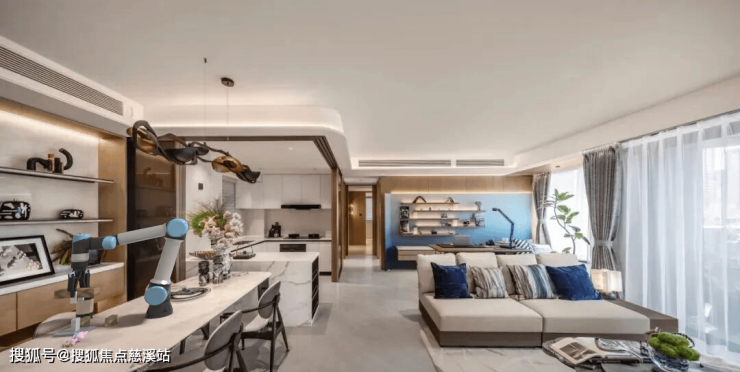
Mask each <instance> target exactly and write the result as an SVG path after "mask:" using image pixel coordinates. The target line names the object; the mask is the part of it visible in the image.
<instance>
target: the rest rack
mask: <svg viewBox="0 0 740 372" xmlns="http://www.w3.org/2000/svg"><path fill="white" fill-rule="evenodd" d="M118 318H119V314H118V313H115V314H114V313H113V314H111V315H109V316H107V317H105V318H104V328H107V327H112V326H114V325H116V324H118V321H119V320H118ZM90 324H91V319H90V316H85V317H82V318H80V327H89V326H91V325H90Z"/></svg>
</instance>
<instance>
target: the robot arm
mask: <svg viewBox="0 0 740 372" xmlns="http://www.w3.org/2000/svg"><path fill="white" fill-rule="evenodd" d="M189 230H190V224H189V221H188V220H186V219H185V218H173V219H171V220H170V221H168V222H165V223H164V224H160V225H155V226H150V227H145V228H140V229H134V230H131V231H125V232H121V233H116V234H110V235H106V236H95V237H94V236H91V234H90V233H78V234H74V235H73V237H72V242H71V258H70V261H71V262H70V269H72V271H71V273H67V288H66V289H67V291H68V292H70V298H69V299H70V300H69V304H70V305H71V304H76V303H77V291H76V289H77V288H87V287H88V279H89V273H90V272H91V271H90V269H87V268H89V259H90V258H89V257H90V251H94V250H96V251H98V250H114V249H115V248H116V247H118V246H123V245H127V244H132V243H137V242H141V241H145V240H146V241H147V240H150V239H151V240H152V239H155V238H160V237H164V239H165V243H164V245H163V248H162V250H161V251H162V252H161V255H160V257H159V261H158V264H157V268H156V270H155V274H154V277H153V278H152V279H150V281H149V283H148V286H147V290H146V291H145V293H144V296H143V297H144V301H145V302H146V303H147V304H148V306H147V309H146V312H145V318H147V319H159V318H165V317H167V316H170V315H172V314H173V313H174V308H173V305H172V302H171V289H172V287H171V286H172V280H171V275H172V273H173V270H174V266H175V264H176V260H177V257H178V253H179V251H180V248H181V244H182V242H184V241H185V240H186V238H187V233H188V231H189ZM78 285H79V287H78ZM83 300H84V298H78V301H83Z"/></svg>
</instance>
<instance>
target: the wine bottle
mask: <svg viewBox="0 0 740 372" xmlns="http://www.w3.org/2000/svg"><path fill="white" fill-rule="evenodd" d="M90 285H91V272H89V279H88V287H87V288H91V286H90ZM94 303H95V297H86V298H84V300H83V301H78V298H77V301H76V303H75V305H76V306H75V307H76V308H75V318H79V317H80V318H82V317H85V316H90V320H91V319H93V317H94ZM92 316H93V317H92Z"/></svg>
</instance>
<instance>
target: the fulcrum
mask: <svg viewBox="0 0 740 372" xmlns="http://www.w3.org/2000/svg"><path fill="white" fill-rule="evenodd" d="M96 327H97V326H96V325H92V326H91V325H88V326H86V327H80V317H79V318H76V317H74V318H72V319H71V320H70V327H68V328H65V329H63V330H61V331H58V332H57V333H54V334H53V335H52V338H62V337H63V338H64V337H72V336H73V335H74V333H77V334H78V333H79V332H86V331H88V332H91V331H93V330H94V329H95V330H96V329H97V328H96ZM88 332H87V333H88Z"/></svg>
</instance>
